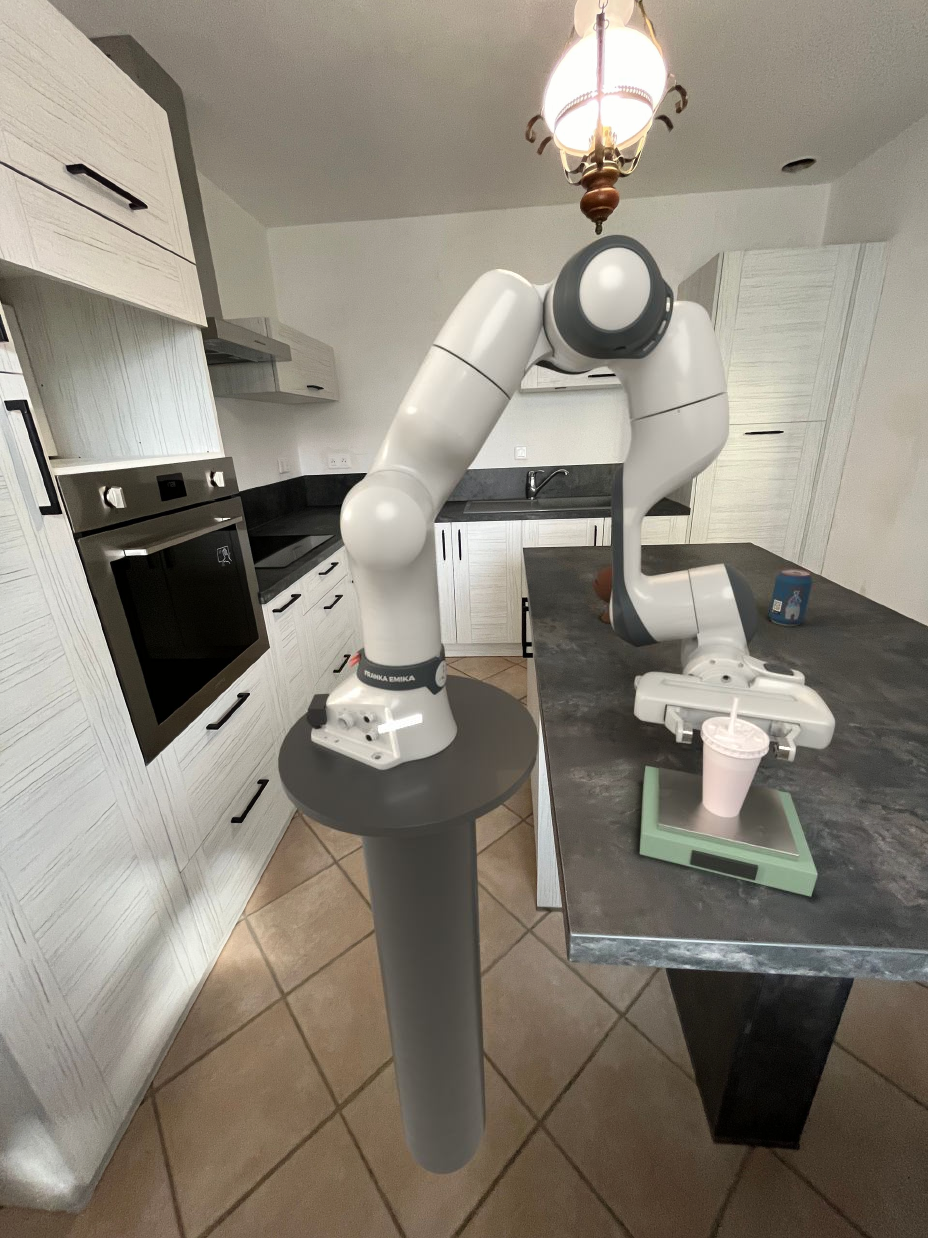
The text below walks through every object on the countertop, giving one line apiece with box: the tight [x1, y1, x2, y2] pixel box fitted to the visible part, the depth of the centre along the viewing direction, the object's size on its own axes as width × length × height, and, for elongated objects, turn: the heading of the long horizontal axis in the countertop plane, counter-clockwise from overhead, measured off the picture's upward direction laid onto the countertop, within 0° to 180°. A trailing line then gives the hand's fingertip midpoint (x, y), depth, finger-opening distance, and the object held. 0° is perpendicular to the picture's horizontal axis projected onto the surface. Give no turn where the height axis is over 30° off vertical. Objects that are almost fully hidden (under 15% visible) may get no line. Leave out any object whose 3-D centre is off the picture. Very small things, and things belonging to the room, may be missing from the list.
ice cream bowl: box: [591, 563, 612, 624], centre depth 116 cm, size 11×11×15 cm
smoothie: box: [700, 696, 771, 818], centre depth 52 cm, size 6×6×14 cm
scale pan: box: [657, 766, 799, 861], centre depth 55 cm, size 13×10×1 cm
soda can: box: [768, 568, 813, 627], centre depth 112 cm, size 7×7×12 cm
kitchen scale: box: [639, 765, 819, 898], centre depth 55 cm, size 16×12×3 cm
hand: (733, 746), depth 51 cm, fingers open, 8 cm apart
